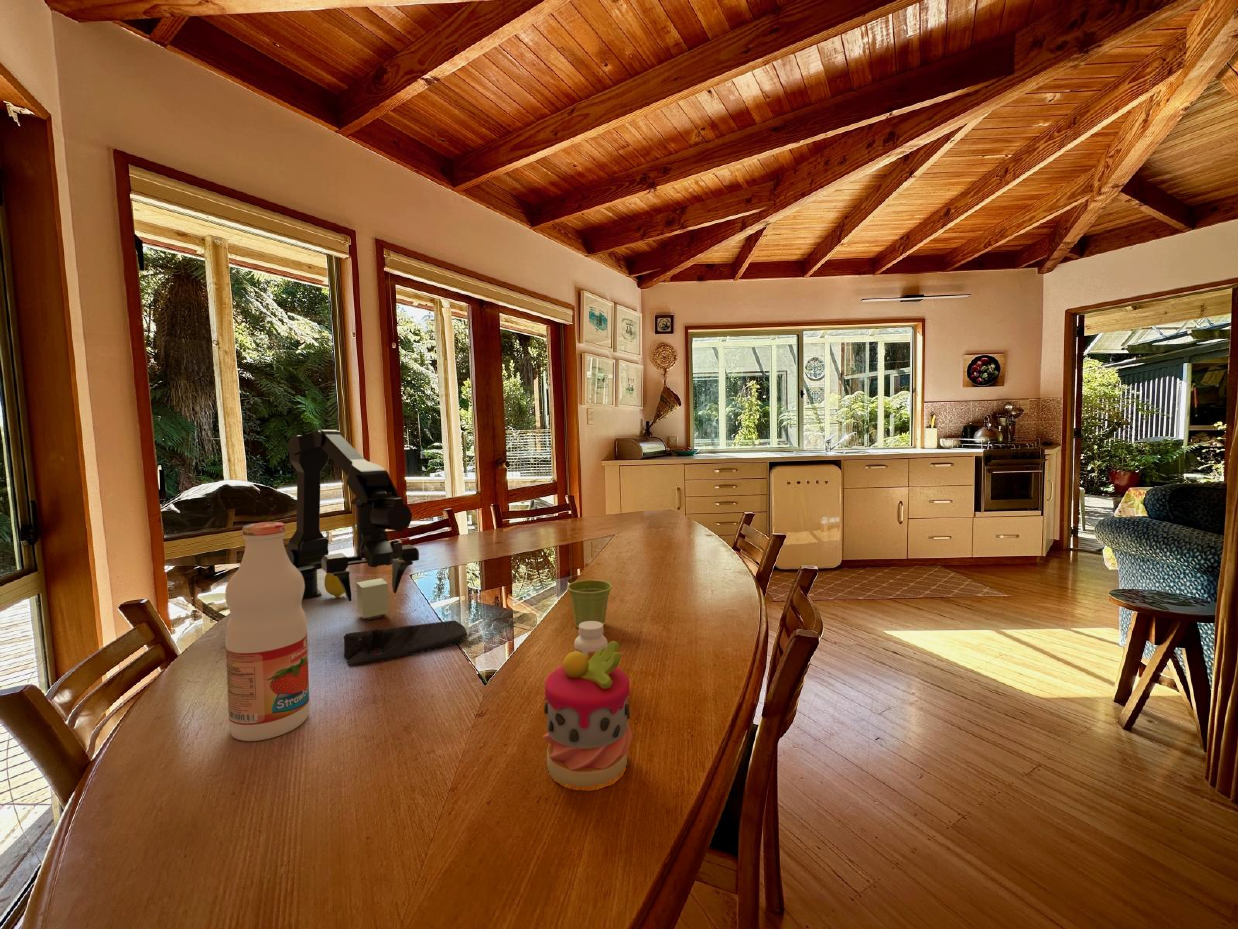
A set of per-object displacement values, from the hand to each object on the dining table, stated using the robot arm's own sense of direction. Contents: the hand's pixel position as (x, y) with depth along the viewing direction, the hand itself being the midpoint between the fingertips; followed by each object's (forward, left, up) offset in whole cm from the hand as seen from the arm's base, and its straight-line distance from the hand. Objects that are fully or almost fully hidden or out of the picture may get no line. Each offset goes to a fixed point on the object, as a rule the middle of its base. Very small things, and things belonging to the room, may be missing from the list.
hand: (372, 596), depth 117 cm
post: (0, 0, -4) cm, 4 cm away
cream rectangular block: (0, 0, -4) cm, 4 cm away
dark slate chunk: (+20, +1, -5) cm, 20 cm away
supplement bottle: (+55, +19, -5) cm, 58 cm away
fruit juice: (+37, -23, -5) cm, 44 cm away
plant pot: (+34, +34, -5) cm, 48 cm away
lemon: (-20, -3, -5) cm, 21 cm away
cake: (+72, +6, -5) cm, 72 cm away
